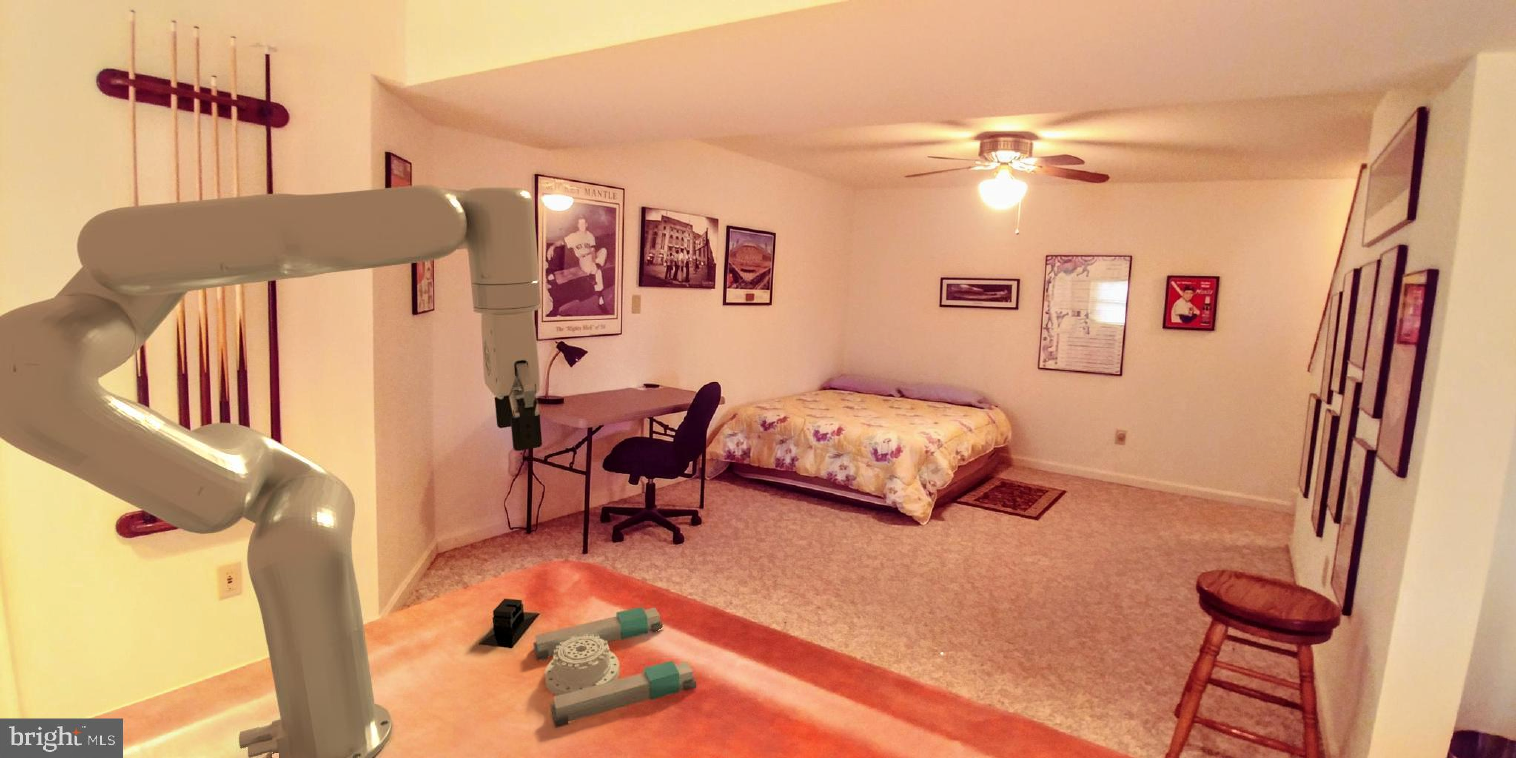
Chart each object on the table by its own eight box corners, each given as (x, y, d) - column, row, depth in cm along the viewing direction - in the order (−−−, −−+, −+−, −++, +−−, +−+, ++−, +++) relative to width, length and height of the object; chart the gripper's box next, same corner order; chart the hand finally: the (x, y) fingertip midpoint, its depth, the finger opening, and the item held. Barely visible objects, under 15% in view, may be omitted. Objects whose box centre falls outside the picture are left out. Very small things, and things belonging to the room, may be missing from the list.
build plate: (512, 658, 106) (509, 630, 105) (465, 653, 107) (462, 626, 106) (548, 611, 118) (546, 586, 117) (506, 607, 119) (504, 582, 118)
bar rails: (555, 727, 91) (553, 707, 91) (533, 648, 107) (532, 631, 107) (696, 687, 99) (695, 668, 98) (656, 619, 115) (656, 602, 114)
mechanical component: (531, 695, 98) (601, 705, 96) (529, 666, 97) (600, 676, 95) (565, 651, 107) (630, 660, 105) (564, 624, 106) (629, 632, 104)
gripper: (461, 290, 91) (474, 422, 95) (486, 309, 76) (500, 464, 81) (523, 287, 95) (533, 414, 99) (558, 303, 80) (568, 452, 84)
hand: (518, 436), depth 90 cm, fingers open, 9 cm apart
